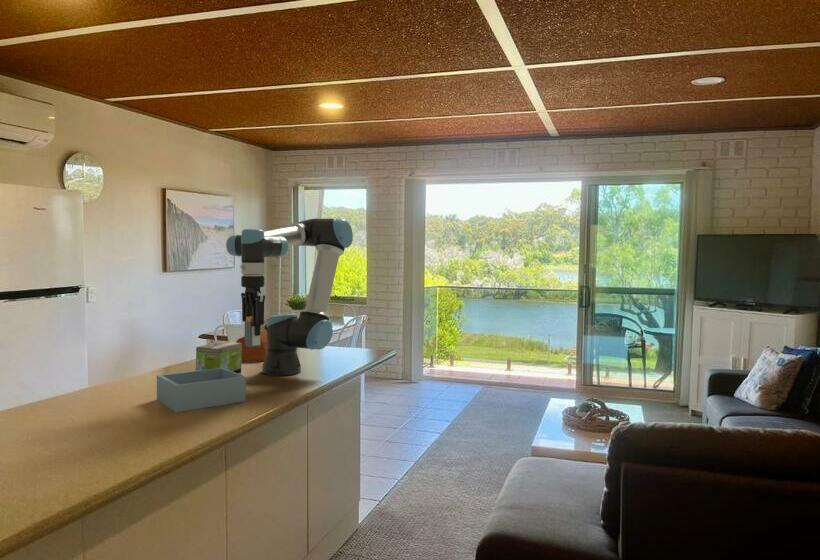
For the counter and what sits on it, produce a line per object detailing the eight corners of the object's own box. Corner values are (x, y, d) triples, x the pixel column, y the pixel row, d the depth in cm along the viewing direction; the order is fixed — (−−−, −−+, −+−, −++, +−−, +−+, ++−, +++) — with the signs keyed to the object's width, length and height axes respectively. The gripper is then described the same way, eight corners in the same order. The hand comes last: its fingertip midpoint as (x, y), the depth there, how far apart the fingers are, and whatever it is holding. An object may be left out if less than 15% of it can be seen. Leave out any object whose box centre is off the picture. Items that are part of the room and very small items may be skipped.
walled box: (222, 390, 205) (223, 367, 204) (245, 401, 191) (245, 376, 190) (156, 399, 190) (156, 375, 190) (176, 412, 177) (176, 385, 176)
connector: (255, 344, 203) (255, 315, 202) (260, 346, 200) (260, 317, 199) (244, 345, 200) (244, 316, 200) (249, 347, 197) (249, 317, 197)
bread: (230, 361, 258) (230, 336, 257) (254, 350, 284) (254, 328, 284) (264, 362, 256) (264, 338, 255) (285, 352, 282) (286, 330, 282)
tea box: (220, 390, 204) (220, 348, 203) (194, 388, 206) (194, 346, 205) (242, 381, 219) (242, 341, 218) (217, 379, 221) (217, 340, 220)
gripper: (231, 274, 203) (231, 341, 204) (253, 276, 190) (253, 349, 191) (252, 273, 208) (252, 339, 209) (275, 276, 195) (274, 346, 196)
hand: (252, 344), depth 200 cm, fingers closed on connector, 4 cm apart
